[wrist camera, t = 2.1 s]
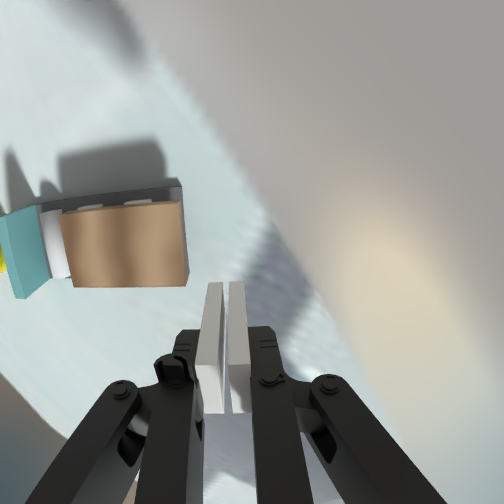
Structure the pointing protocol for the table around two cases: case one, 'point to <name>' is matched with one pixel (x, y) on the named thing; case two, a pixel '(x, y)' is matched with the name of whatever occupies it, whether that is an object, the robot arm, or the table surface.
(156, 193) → the roller bed
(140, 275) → the slab
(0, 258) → the pill bottle
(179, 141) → the table surface
